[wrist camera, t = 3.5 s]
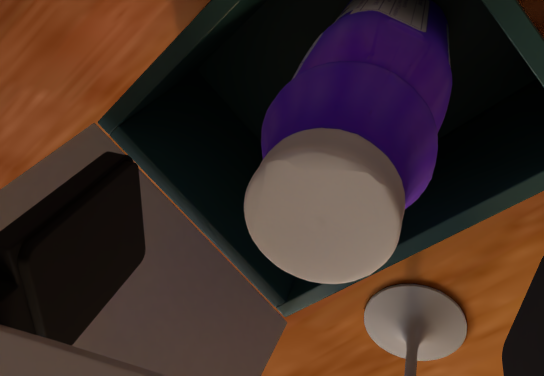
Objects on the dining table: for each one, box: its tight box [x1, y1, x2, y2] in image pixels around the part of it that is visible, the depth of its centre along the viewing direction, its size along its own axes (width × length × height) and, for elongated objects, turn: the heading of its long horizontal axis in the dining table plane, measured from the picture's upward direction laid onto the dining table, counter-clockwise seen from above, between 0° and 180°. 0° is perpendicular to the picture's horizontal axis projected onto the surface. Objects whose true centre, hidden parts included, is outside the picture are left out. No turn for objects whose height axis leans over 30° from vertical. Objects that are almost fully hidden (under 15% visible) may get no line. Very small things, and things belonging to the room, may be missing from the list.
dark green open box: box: [98, 0, 544, 317], centre depth 25 cm, size 17×14×10 cm
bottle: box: [244, 0, 452, 284], centre depth 20 cm, size 7×6×17 cm
